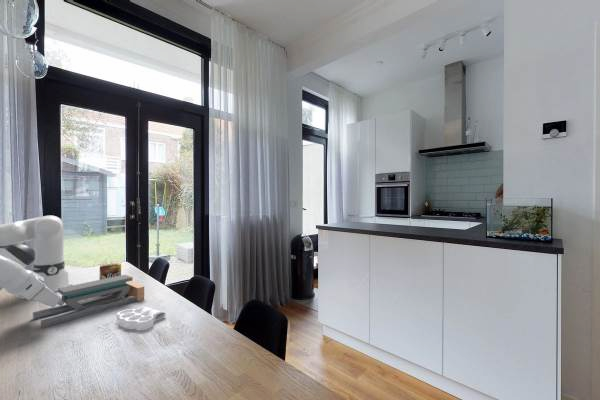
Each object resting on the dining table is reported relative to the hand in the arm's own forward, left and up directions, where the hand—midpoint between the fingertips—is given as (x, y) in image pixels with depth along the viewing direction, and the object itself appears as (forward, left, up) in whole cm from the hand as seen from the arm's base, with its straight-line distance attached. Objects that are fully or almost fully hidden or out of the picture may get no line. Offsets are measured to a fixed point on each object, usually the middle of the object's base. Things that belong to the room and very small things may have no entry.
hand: (62, 303), depth 109 cm
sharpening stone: (0, +12, -6) cm, 13 cm away
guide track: (0, +9, -5) cm, 11 cm away
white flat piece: (+30, +16, -6) cm, 34 cm away
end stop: (0, +27, -5) cm, 28 cm away
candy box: (-13, +22, -6) cm, 26 cm away
